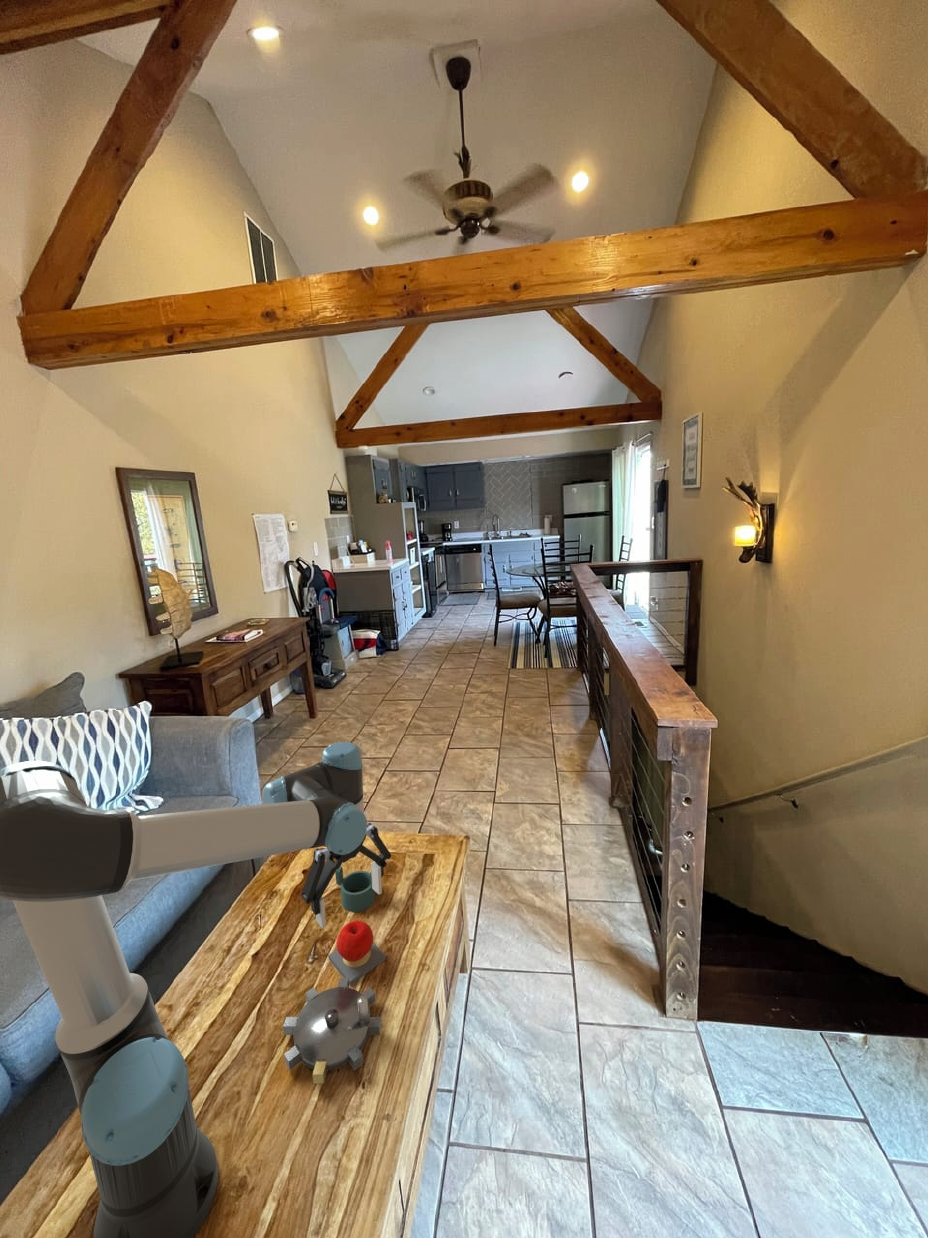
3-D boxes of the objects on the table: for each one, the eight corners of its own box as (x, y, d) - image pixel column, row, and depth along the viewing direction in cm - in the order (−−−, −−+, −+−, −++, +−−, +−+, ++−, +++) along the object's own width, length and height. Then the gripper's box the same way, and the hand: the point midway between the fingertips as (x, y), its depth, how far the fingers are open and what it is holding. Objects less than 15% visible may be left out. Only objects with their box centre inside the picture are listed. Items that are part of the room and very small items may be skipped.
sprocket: (371, 1083, 86) (368, 1051, 85) (266, 1083, 87) (262, 1051, 85) (388, 986, 104) (386, 957, 102) (301, 986, 104) (298, 958, 103)
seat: (350, 985, 105) (349, 981, 105) (328, 959, 111) (328, 954, 111) (385, 959, 111) (385, 955, 111) (363, 935, 117) (363, 931, 117)
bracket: (381, 903, 127) (379, 872, 125) (346, 918, 122) (343, 886, 121) (369, 881, 135) (367, 851, 133) (335, 895, 130) (332, 864, 128)
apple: (357, 978, 106) (355, 948, 104) (329, 962, 109) (326, 933, 108) (381, 949, 112) (379, 921, 111) (354, 935, 116) (352, 908, 115)
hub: (327, 1058, 91) (325, 1038, 90) (311, 1034, 96) (309, 1015, 95) (355, 1034, 95) (354, 1015, 94) (339, 1012, 100) (337, 994, 99)
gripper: (296, 853, 92) (303, 951, 97) (405, 801, 109) (407, 887, 114) (278, 834, 98) (286, 928, 102) (385, 788, 115) (388, 870, 119)
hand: (350, 907), depth 108 cm, fingers open, 13 cm apart
